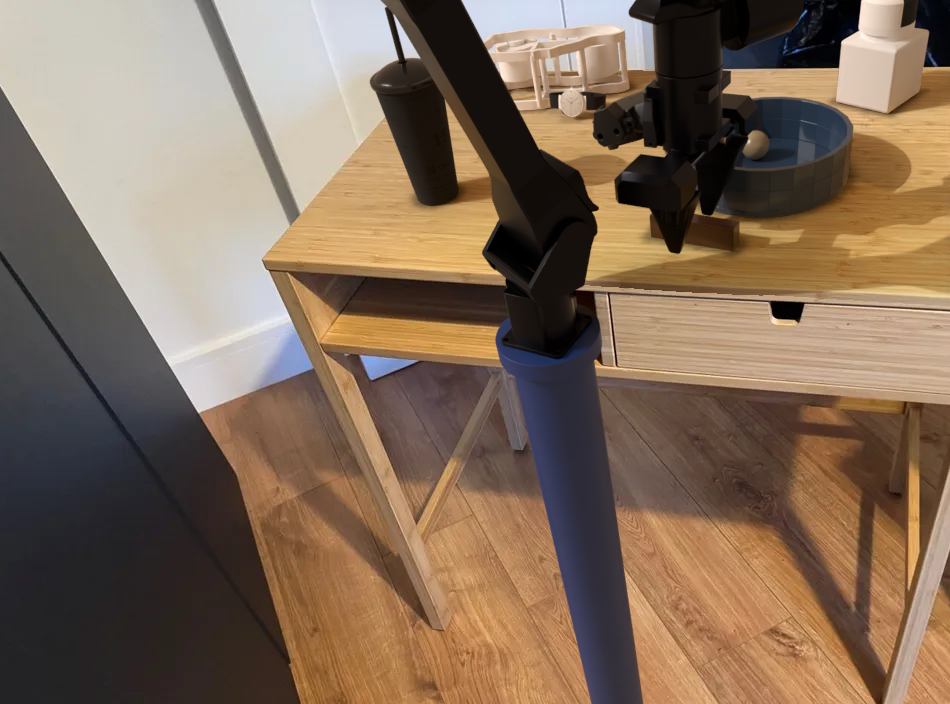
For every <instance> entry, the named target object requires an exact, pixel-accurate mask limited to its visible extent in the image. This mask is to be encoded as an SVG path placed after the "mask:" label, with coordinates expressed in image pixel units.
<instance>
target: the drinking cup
mask: <svg viewBox="0 0 950 704" xmlns="http://www.w3.org/2000/svg"><path fill="white" fill-rule="evenodd" d="M384 12H385V15H386V19H387V22H388V23H387V24H388V26H389V30H390V33H391V39H392V42H393V45H394V48H395V52H396V56H397V59H396V60H393V61H391V62H389V63H387V64H386V65H384V66H383V67H382V68H381V69H379V70H378V71H376V72H375V73H374V74H372V76H371V77H370V78H369V87H370V88H371V90H373V92H375V95H376V98H377V99H378V103H379V104H380V105H379V106H380V107H381V110H382V112H383V115H384V118H385V120H386V122H387V125H388V128H389V130H390V132H391V135H392V138H393V140H394V143H395V146H396V148H397V151H398V153H399V156H400V158H401V161H402V163H403V165H404V168H405V170H406V174H407V176H408V178H409V181H410V184H411V186H412V189H413V191H414V194H415V196H416V199H417V201H418V203H420V204H422V205H424V206H440V205H444V204H447V203H449V202H451V201H452V200H454V199H456V198H457V197H458V195H459V193H460V190H459V189H460V188H459V183H458V177H457V171H456V162H455V159H454V158H455V156H454V151H453V144H452V137H451V130H450V126H449V117H448V111H447V110H448V109H447V105H446V104H447V103H446V100H445V99H444V97H443V95H442V94H441V92H440V90H439V89H438V87H437V85H436V83H435V82H434V80H433V78H432V77H431V75H430V73H429V72H428V70H427V68H426V67H425V65H424V63H423V62H422V60H421V58H420V57H405V53H404V50H403V45H402V41H401V38H400V34H399V30H398V26H397V23H396V19H395V15H394V14H393V13H392V12H391V11H390V9H389V8H388V7H387V6H385V7H384Z"/></svg>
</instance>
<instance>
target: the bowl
mask: <svg viewBox="0 0 950 704" xmlns="http://www.w3.org/2000/svg"><path fill="white" fill-rule="evenodd" d="M751 98H752V99H753V101H754V102H755V103H756V104H757V105H758V121H757V126H756V127H755V128H754V130H758V131H762V132H764V133H765V134H766V135H767V137H768V139H769V149H768V152H767V153H766V154H765V155H764V156H763V157H762V158H760V159H757V160H752V159H749V158H747V157H746V156H745V155H744V154H743V152H742V153H741V155H740V157H739V159H738V161H737V164H736V166H735V168H734V170H733V172H732V174H731V176H730V178H729V181H728V182H727V185H726V187H725V189H724V191H723V193H722V196H721V198H720V200H719V202H718V205H717V207H716V209H715V211H714V212H718V213H721V214H725V215H730V216H733V217H734V216H735V217H743V218H777V217H785V216H790V215H791V216H792V215H796V214H800V213H803V212H807V211H810V210H813V209H815V208H818V207H820V206H822V205H824V204H826V203H828V202H830V201H831V200H833V199H834V198H835V197H837V196H838V195H839V194H840V193H841V192H842V191H843V189H844V188H845V187H846V185H847V183H848V180H849V179H848V178H849V174H850V166H851V157H852V148H853V146H852V145H853V140H854V139H853V138H854V124H853V123H852V121H851V119H850V118H849V115H847V114H845V113H844V112H843V111H841V110H840V109H839V108H837V107H835V106H832V105H829V104H828V103H825V102H822V101H817V100H814V99H813V100H812V99H808V98H803V97H794V96H793V97H792V96H761V97H751ZM731 127H734V128H735V134H739V135H741V134H740V132H739V123H736V124H731ZM754 130H753V131H754ZM693 168H694V169H695V165H694V166H693ZM696 190H698V187H697V186H696ZM698 204H699V205H700V202H699V201H698Z"/></svg>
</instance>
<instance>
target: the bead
mask: <svg viewBox="0 0 950 704" xmlns="http://www.w3.org/2000/svg"><path fill="white" fill-rule="evenodd" d="M748 137H749V139H748V142H747V144H746V145H745V147H744V149H743V151H742V152H743V154H744V155H745V156H746V157H747V158H749V159H752V160H757V159H760V158H762V157H763V156H764V155H765V154H766V153H767V152H768V149H769V139H768V137H767V135H766V134H765V133H764V132H762V131H758V130H754V131H752V132H751V133H750V134H749V135H748Z"/></svg>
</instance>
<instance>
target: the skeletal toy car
mask: <svg viewBox="0 0 950 704" xmlns="http://www.w3.org/2000/svg"><path fill="white" fill-rule="evenodd" d="M538 39H545V40H538ZM546 39H548V40H546ZM482 41H483V42H484V44H485V46H486V48H487V50H488V52H489V54H490V56H491V58H492V60H493V62H494V64H495V66H496V67H497V65H496V63H498V69H499V73H500V75H501V77H502V79H503V81H504V83H505V85H506V87H507V89H508V91H510V90H516V89H524V88H529V87H533V88H534V94H535V99H525V100H524V99H521V100H514V102H515V104H516V106H517V108H518V110H519V111H536V110H537V111H538V110H545V109H552V108H551V107H550V99H549V94H550V93H554V92H565V91H566V90H568V89H569V88H551V89H550V86H559V87H560V86H563V87H564V86H565V87H573V89H576V90H578V91H579V92H594V93H602V94H606V95H607V94H616V93H617V94H618V93H623V92H626V91H628V90H630V78H629V75H628V74H629V72H628V60H627V49H626V47H627V46H626V29H625V28H623V27H621V26H619V25H615V24H587V25H580V26H572V27H537V28H523V29H517V30H510V31H502V32H497V33H491V34H489V35H488V36H487V38H486V39H484V40H482ZM493 46H495V51H494V50H491V49H492V48H493ZM572 53H575V56H576V64H577V73H578V75H562V71H561V65H560V64H561V63H560V56H563V55H568V54H572ZM547 59H548V60H549V59H552V63H553V69H554V75H548V69H547V68H548V67H547V64H546V63H547V62H546V60H547ZM619 71H620V72H621V74H619V73H618V72H619ZM592 84H595V85H592ZM589 85H591V86H589ZM575 86H582V87H577V88H576V87H575ZM542 87H543V88H542ZM574 87H575V88H574ZM542 89H543V90H542Z"/></svg>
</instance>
